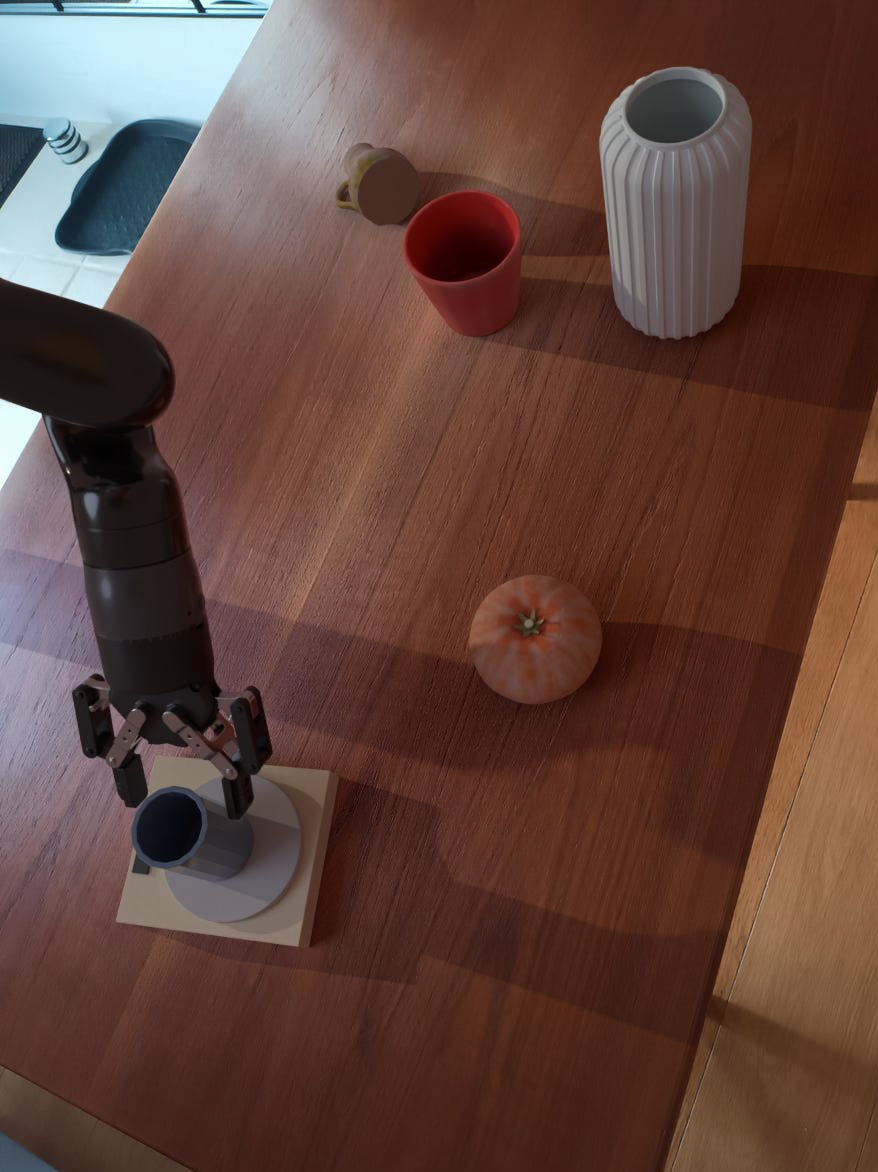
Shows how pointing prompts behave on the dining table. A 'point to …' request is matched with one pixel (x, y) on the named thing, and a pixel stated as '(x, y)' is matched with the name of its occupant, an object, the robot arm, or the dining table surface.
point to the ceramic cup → (191, 835)
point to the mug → (379, 184)
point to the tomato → (535, 639)
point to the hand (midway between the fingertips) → (188, 807)
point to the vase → (676, 199)
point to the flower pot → (467, 259)
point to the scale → (270, 877)
